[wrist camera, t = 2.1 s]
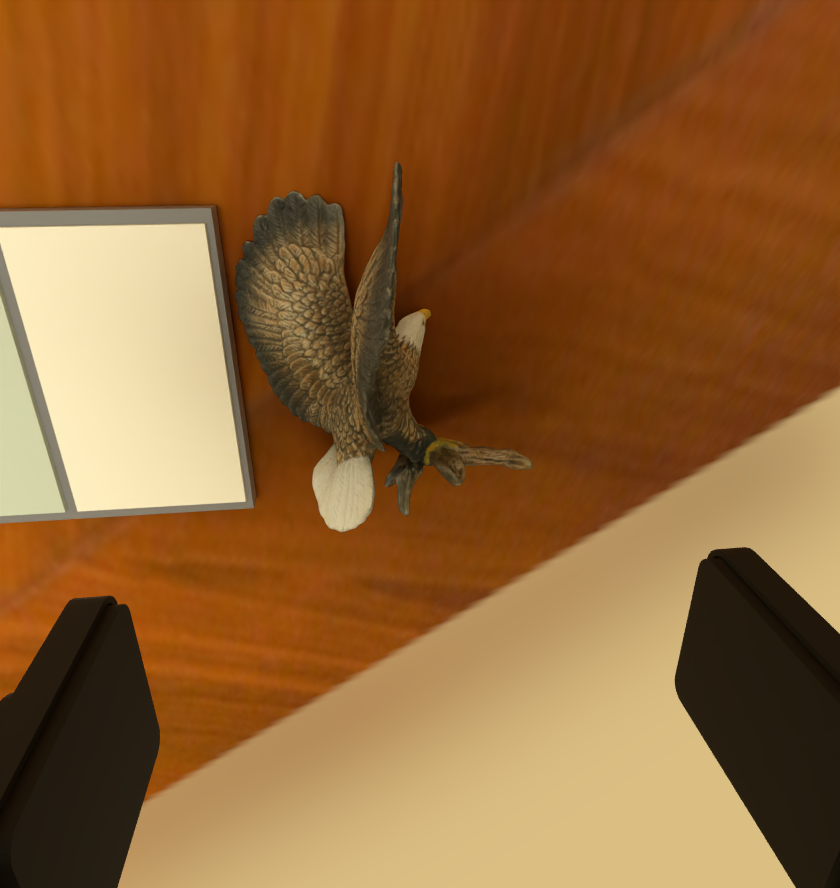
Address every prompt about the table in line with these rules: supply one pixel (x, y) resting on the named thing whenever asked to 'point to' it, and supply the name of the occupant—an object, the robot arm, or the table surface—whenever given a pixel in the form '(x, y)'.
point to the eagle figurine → (344, 354)
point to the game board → (118, 365)
